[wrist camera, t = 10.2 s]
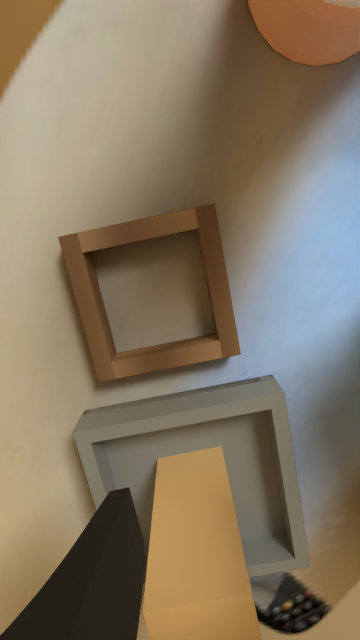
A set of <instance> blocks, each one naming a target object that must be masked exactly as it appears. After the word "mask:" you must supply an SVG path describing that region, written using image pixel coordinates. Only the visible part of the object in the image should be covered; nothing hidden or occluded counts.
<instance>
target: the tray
mask: <svg viewBox="0 0 360 640" xmlns="http://www.w3.org/2000/svg"><path fill="white" fill-rule="evenodd" d="M73 436H74V439H75V442H76V446H77V449H78V452H79V455H80V459H81V462H82V465H83V468H84V472H85V475H86V478H87V481H88V485H89V488H90V491H91V494H92V498H93V501H94V504H95V507H96V511H97V509H98V508H99V506H100V505H101V503H102V502H103V500H104V499H105V497H106V496H107V494H108V493H109V492H110V491H113V490H118V489H123V488H128V487H129V488H130V492H131V496H132V499H133V503H134V506H135V510H136V514H137V517H138V521H139V525H140V528H141V532H142V536H143V539H144V581H143V590H142V595H144V592H145V582H146V572H147V562H148V552H149V542H150V532H151V522H152V512H153V502H154V492H155V482H156V472H157V462H158V458H162V457H167V456H172V455H178V454H183V453H188V452H193V451H199V450H204V449H209V448H214V447H220V446H222V450H223V455H224V460H225V465H226V470H227V474H228V479H229V484H230V489H231V493H232V498H233V503H234V508H235V513H236V518H237V522H238V527H239V532H240V537H241V542H242V547H243V551H244V556H245V561H246V566H247V571H248V576H249V577H254V576H260V575H266V574H272V573H278V572H284V571H290V570H296V569H302V568H308V567H310V562H309V555H308V548H307V541H306V535H305V528H304V521H303V515H302V508H301V501H300V494H299V488H298V481H297V474H296V467H295V461H294V454H293V447H292V441H291V434H290V427H289V420H288V414H287V407H286V400H285V393H284V391H283V390H282V389H281V387H280V386H279V384H278V383H277V381H276V380H275V378H274V377H273V376H272V375H268V376H263V377H257V378H252V379H247V380H242V381H237V382H231V383H226V384H221V385H216V386H210V387H205V388H200V389H195V390H190V391H184V392H179V393H174V394H169V395H164V396H158V397H153V398H148V399H143V400H138V401H132V402H127V403H122V404H117V405H111V406H106V407H101V408H96V409H91V410H85V411H84V413H83V415H82V417H81V419H80V420H79V422H78V424H77V426H76V427H75V429H74V431H73Z"/></svg>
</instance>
